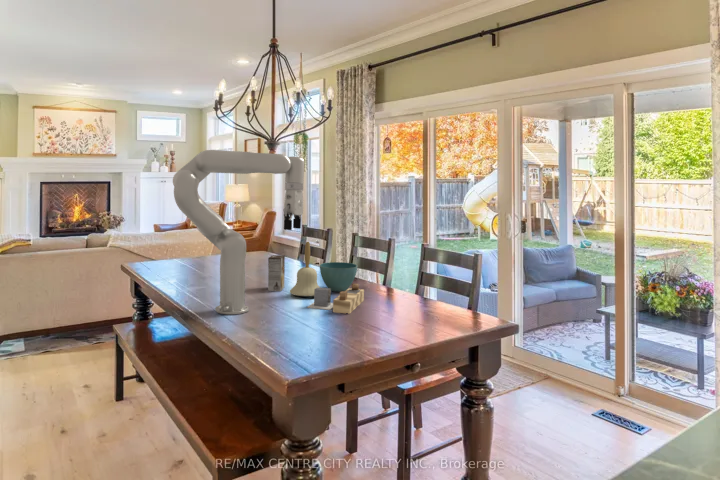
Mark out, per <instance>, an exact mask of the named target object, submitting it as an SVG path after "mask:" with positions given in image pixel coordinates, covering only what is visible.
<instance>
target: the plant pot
mask: <svg viewBox="0 0 720 480" xmlns="http://www.w3.org/2000/svg"><path fill="white" fill-rule="evenodd" d="M319 271H320V275H321V278H322V281H323V282H324V283H323V284H324V285H325V286H326V288H331V292H339V293H340V292H341V291H346V290H347V289H349V288H351V287H350V286H352V284H353V282H354V281H355V278H356V275H357V271H358V264H355V263H352V262H343V261H340V262H338V261H337V262H336V261H335V262H334V261H333V262H332V261H331V262H324V263H320V264H319Z"/></svg>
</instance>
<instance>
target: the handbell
mask: <svg viewBox="0 0 720 480" xmlns="http://www.w3.org/2000/svg"><path fill="white" fill-rule="evenodd" d="M310 244H311V243H310V241H306V242H305V247H304V262H305V263H304V264H305V266H303V267H300V268H299V269H298V270H297V273H296V283H295V285H293V287H292V288H291V289H290V290H289V294H291V295H294V296H300V297H314V289H316V288H317V287H319V288H321V287H320V286H319V285H318V272H317V271H316V269H315V268H314V267H310V261H311V245H310Z"/></svg>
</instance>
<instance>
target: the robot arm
mask: <svg viewBox="0 0 720 480" xmlns="http://www.w3.org/2000/svg"><path fill="white" fill-rule="evenodd" d="M211 173H213V174H216V173H217V174H236V175H237V174H240V175H241V174H242V175H243V174H246V175H247V174H248V175H249V174H260V173H261V174H274V175H278V174H280V175H281V174H284V176H285V177H284V191H285V193H284V202H283V203H284V206H283V229H284V230H285V231H292V229H297V230H298V229H301V228H302V227H301V226H302V225H301V224H302V215H303V214H304V193H303V192H304V177H305V160H304V158H303V157H300V156H288V155H286V154H283V153H268V152H267V153H266V152H251V151H238V150H235V151H234V150H218V149H217V150H216V149H205V150H202V151H200V152H199V153H198V154H196V155H195V156H194V157H193V158H192V159H190V160H189V161H188V162H186V164H185V165H183V167H181V168H180V169H179V170H177V172H175V173H174V175H173V178H172V184H173V197H174V198H173V199H174V202H175V203H176V206H177V207H178V209H179V210H180V211H181V212H182V213H183V215H185V216H186V218H188V219H189V220H190V222H192V223H193V224H194V225H195V226H196V228H197V230H198V231H199V233H201V235H203V236H204V237H205V239H207V240H208V241H209V242H211V244H213V245H214V246H215V247H216V248H217V249H218V250H220V259H219V294H220V295H219V305H217V306H215V308H214V309H215V312H216V313H218V314H221V315H240V314H244V313H248V311H250V309H249V306H248V305H246V255H247V254H246V253H247V241H246V238H245V237H244V236H243V234H241V233H240V232H237V231H235V230H233V228H231V227H230V226H229V225H228V224H227V223H226V222H225V220H224V219H223V217H222V216H221V215H220V214H219V213H217V212H216V211H215V210H213V208H211V207H210V206H209V204H207V202H206V201H205V200H203V199H202V198H201V196H200V195H199V191H198V188H199V185H200V183H201V182H202V181H203V180H204V179H205V178H207V176H209V175H210V174H211ZM292 218H293V219H292Z"/></svg>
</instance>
